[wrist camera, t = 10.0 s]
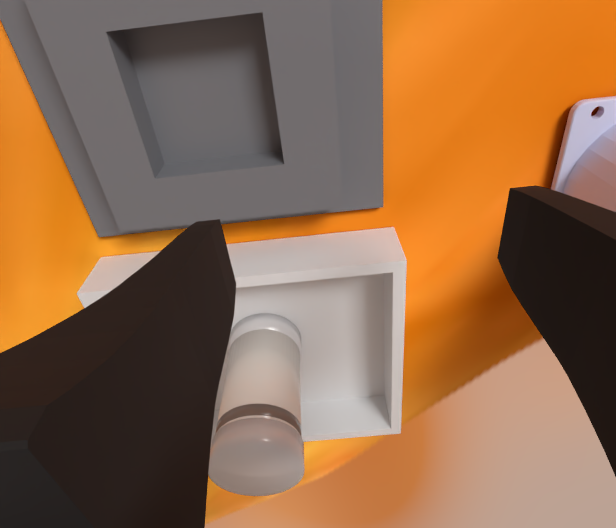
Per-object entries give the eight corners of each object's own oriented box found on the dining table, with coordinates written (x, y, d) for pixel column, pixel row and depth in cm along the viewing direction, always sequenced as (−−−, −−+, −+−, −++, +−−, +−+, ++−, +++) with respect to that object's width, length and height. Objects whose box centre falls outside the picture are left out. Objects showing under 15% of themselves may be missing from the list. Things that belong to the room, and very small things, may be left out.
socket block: (379, -126, 14) (391, -138, 12) (381, 203, 21) (389, 223, 19) (-33, -70, 14) (-75, -75, 13) (101, 233, 21) (85, 255, 20)
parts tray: (393, 227, 22) (406, 260, 19) (391, 394, 29) (400, 433, 27) (101, 257, 22) (76, 293, 20) (173, 413, 30) (162, 453, 27)
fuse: (296, 309, 24) (298, 439, 17) (304, 361, 26) (308, 492, 20) (223, 316, 24) (196, 447, 17) (237, 367, 26) (219, 499, 20)
